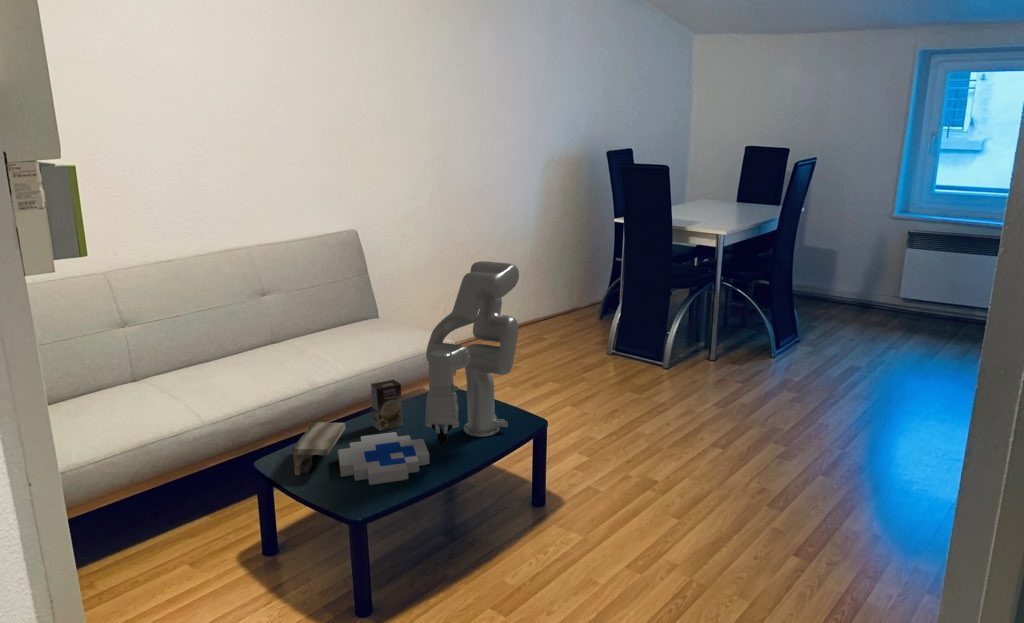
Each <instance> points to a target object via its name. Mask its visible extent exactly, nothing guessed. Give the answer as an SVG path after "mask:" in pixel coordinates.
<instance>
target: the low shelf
mask: <svg viewBox="0 0 1024 623" xmlns="http://www.w3.org/2000/svg"><path fill="white" fill-rule="evenodd" d="M345 430H346V423H345V422H324V421H322V422H319V421H318V422H316V421H315V422H314V421H313V422H312V423H311V424H310V425H309V426H308V428H307V429H306V430H305V432H304V434H303V435H302V436H301V437H300V439H298V441H297V443H296V444H295V445H294V446H293V447H292V456H293V457H292V458H293V466H294V475H296V476H300V475H301V474H303V473H304V474H307V473H309V472H310V470H311V468H312V467H313V465H314V464H313V457H314V456H313V455H319V456H329V454H330V452H331V451H332V449H333V448H334V446H335V445H336V443H337V442H338V441H339V439H340V437H342V434H343V433H344V432H345Z"/></svg>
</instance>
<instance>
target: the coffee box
mask: <svg viewBox="0 0 1024 623" xmlns="http://www.w3.org/2000/svg"><path fill="white" fill-rule="evenodd" d="M370 388H371V389H370V390H371V410H372V425H373V427H374V428H375V429H377V431H379V432H382V431H387V430H390V429H391V430H392V429H396V428H399V427H403V426H404V424H403V405H402V404H403V402H402V384H401V383H400V382H399V381H397V380H395V379H390V380H384V381H380V382H379V381H378V382H374V383H373V382H372V383H370Z"/></svg>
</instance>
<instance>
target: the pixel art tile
mask: <svg viewBox="0 0 1024 623" xmlns="http://www.w3.org/2000/svg"><path fill="white" fill-rule="evenodd" d="M337 455H338V465H339V472H340V477H347V476H354V481H363V480H368V485H371V486H373V485H378V484H386V483H393V482H398V481H399V482H400V481H406V479H407V480H409V474H412V473H419V472H420V466H426V465H427V464H429V465H430V453H429V450H428V447H427V445H426V443H425V440H424V438H418V439H412V438H411V436H410V434H408V435H400V436H398V434H397V431H394V432H386V433H385V432H384V433H378V434H377V433H375V434H368V435H362V436H360V441H353V442H349V447H348V448H340V449H337Z"/></svg>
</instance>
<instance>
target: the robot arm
mask: <svg viewBox="0 0 1024 623" xmlns="http://www.w3.org/2000/svg"><path fill="white" fill-rule="evenodd" d="M519 279H520V271H519V268H518V267H517V266H516V265H515V264H514V263H507V262H498V261H495V262H494V261H486V260H485V261H482V260H480V261H476V262H473V264H472V265H471V267H470V272H468V273H466V274H464V275H463V278H462V281H461V283H460V286H459V289H458V292H457V295H456V299H455V302H454V305H453V309H452V311H451V313H449V314H448V315H446V316H445V317H444V318H443V319H441V320H440V322H438V324H437V325H435V327H434V328H433V330H432V332H431V334H430V338H429V340H428V343H427V347H426V351H425V352H426V353H425V355H426V356H425V357H426V361H427V363H428V383H429V385H428V387H429V388H428V392H427V395H426V401H425V402H426V403H425V417H424V418H425V423H424V424H425V427H428V428H432V429H433V430H434V431H435V433H436V434H437V442H439V446H442V447H443V446H446V443H448V438H449V437H448V433H449V432H450V431H451V430H452V429H456V428H459V427H460V422H459V414H460V413H459V411H460V410H459V402H458V395H457V392H456V391H458V390H459V386H456V385H455V382H454V371H457V370H462V369H464V370H465V378H466V379H465V380H466V402H467V423H465V424H464V426H463V431H464V432H465V434H467V435H469V436H471V437H475V438H476V437H478V438H479V437H480V438H484V437H490V436H493V435H496V434H497V433H498V432H500V427H502V428H508V421H505V419H503V418H500V419H499V418H497V414H496V413H495V411H496V410H495V406H496V405H495V381H494V378H493V376H492V374H494V375H500V376H501V375H503V376H504V375H505V376H506V375H508V374H509V373H510V372H512V369H513V365H514V360H515V354H516V351H517V350H516V349H517V346H518V345H517V343H518V338H519V332H520V331H519V330H520V329H519V323H518V320H517V319H516V318H515V317H513V316H511V315H505V314H501V311H502V304H503V299H502V298H503V297H505V296H506V295H507V294H508V293H509V292H511V291H512V290H513V289H514V288H515V287H516V286H517V284H518V282H519ZM471 324H473V325H472V335H473V336H474V337H473V338H476V339H477V340H479V341H486V342H493V343H499V346H498V345H492V344H486V343H485V344H483V343H471V344H469V345H467V346H466V345H461V344H454V343H449V342H447V343H446V342H444V340H445V339H446V338H447V336H448V335H449V334H450V333H452V332H454V331H456V330H457V329H461V328H462V327H463V328H464V327H466V326H469V325H471ZM442 426H443V429H442Z"/></svg>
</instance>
